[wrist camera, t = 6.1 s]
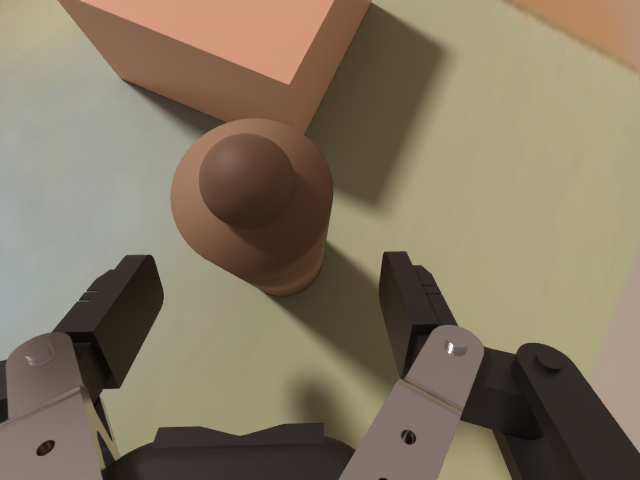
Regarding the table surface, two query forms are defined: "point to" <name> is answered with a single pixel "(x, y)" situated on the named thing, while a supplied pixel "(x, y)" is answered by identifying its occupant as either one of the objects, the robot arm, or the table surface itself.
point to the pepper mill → (256, 203)
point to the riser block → (226, 51)
